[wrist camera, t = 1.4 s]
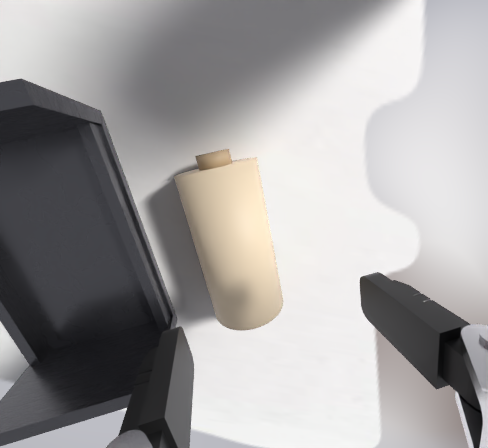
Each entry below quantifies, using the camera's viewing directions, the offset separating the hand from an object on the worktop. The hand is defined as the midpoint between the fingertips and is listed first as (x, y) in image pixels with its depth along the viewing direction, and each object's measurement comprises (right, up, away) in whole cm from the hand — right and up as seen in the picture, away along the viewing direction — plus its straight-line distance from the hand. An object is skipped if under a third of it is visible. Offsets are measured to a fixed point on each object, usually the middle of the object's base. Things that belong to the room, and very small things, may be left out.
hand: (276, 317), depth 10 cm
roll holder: (-16, +2, +9) cm, 18 cm away
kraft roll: (-2, +4, +11) cm, 12 cm away
